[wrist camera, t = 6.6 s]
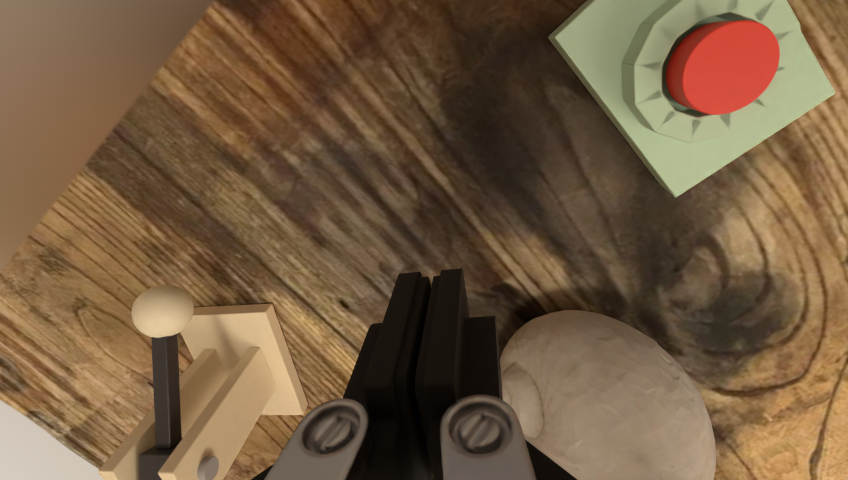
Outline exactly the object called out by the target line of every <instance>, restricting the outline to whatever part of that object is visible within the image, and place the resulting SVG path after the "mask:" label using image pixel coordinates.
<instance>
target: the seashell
mask: <svg viewBox="0 0 848 480" xmlns="http://www.w3.org/2000/svg"><path fill="white" fill-rule="evenodd" d="M500 366H501V380H502V395H503V401H505V402H507V403H508V404H509V405H510V406H511V407H512V408H513V409H514V410H515V412H516V415H517V417H518V419H519V421H520V424H521V428H522V431H523V435H524V438H525V439H526V440H527V441H528V442H529V443H531V444H532V445H533V446H535V447H536V448H537V449H538V450H540V451H541V452H542V453H544V454H545V455H546V456H548V457H549V458H550V459H551V460H553V461H554V462H555V463H557V464H558V465H559V466H561V467H562V468H563V469H564V470H566V471H567V472H568V473H570V474H571V475H572V476H573V477H575V478H576V479H577V480H713V478H714V475H715V467H716V450H715V440H714V435H713V431H712V426H711V421H710V418H709V415H708V413H707V410H706V408H705V405H704V402H703V399H702V397H701V395H700V393H699V392H698V390H697V388H696V387H695V385H694V384H693V382H692V380H691V379H690V377H689V376H688V374H687V373H686V372H685V371H684V370H683V368H682V367H681V366H680V365H679V364H678V363H677V362H676V361H675V360H674V359H673V358H672V357H671V356H670V355H669V354H668V353H667V352H666V351H665V350H663V349H662V348H661V347H660V346H659V345H658V344H657V343H656V342H655V340H653V339H651V338H649V337H648V336H646V335H645V334H643V333H641V332H640V331H638V330H636V329H635V328H633V327H631V326H629V325H628V324H626V323H623V322H621V321H619V320H617V319H614V318H611V317H608V316H606V315H603V314H598V313H593V312H588V311H581V310H564V311H558V312H553V313H549V314H546V315H543V316H540V317H537V318H534V319H532V320H531V321H529V322H527V323H526V324H524V325H523V326H522V327H521V328H520V329H519V330H517V331H516V332H515V333H514V335H513V336H512V337H511V339H510V340H509V342H508V343H507V345H506V346H505V348H504V350H503V352H502V355H501V358H500Z"/></svg>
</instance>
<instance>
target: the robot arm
mask: <svg viewBox="0 0 848 480" xmlns="http://www.w3.org/2000/svg"><path fill="white" fill-rule="evenodd" d="M433 476H434V480H577V479H576V478H575V477H573V476H572V475H571V474H570V473H568V472H567V471H566V470H564V469H563V468H562V467H561V466H559V465H558V464H557V463H555V462H554V461H553V460H551V459H550V458H549V457H548V456H546V455H545V454H544V453H542V452H541V451H540V450H538V449H537V448H536V447H535V446H533V445H532V444H531V443H529V442H528V441H527V440H526V439H525V438H524V435H523V431H522V428H521V424H520V421H519V419H518V417H517V415H516V412H515V410H514V409H513V408H512V407H511V406H510V405H509V404H508V403H507V402H505V401H503V395H502V380H501V366H500V355H499V344H498V335H497V326H496V318H495V316H489V317H473V318H470V316H469V309H468V302H467V295H466V288H465V281H464V274H463V270H462V268H461V269H449V270H441V274H440V276H434V277H433V282H432V288H431V285H430V280H429V277H422V275H421V273H420V272H414V273H402V274H399V275H398V278H397V281H396V284H395V287H394V290H393V293H392V296H391V299H390V302H389V305H388V308H387V311H386V314H385V317H384V320H383V323H376V324H372V325H371V326H370V328H369V330H368V332H367V335H366V338H365V340H364V343H363V346H362V348H361V351H360V354H359V357H358V359H357V362H356V365H355V367H354V370H353V373H352V375H351V378H350V381H349V383H348V386H347V389H346V391H345V394H344V397H343V399H334V400H331V401H327V402H325V403H323V404H321V405H319V406H317V407H315V408H314V409H313V410H312V411H310V412H309V413H308V414H307V415H306V416H305V417H304V418H303V420H302V421H301V422H300V423H299V425H298V427H297V428H296V430H295V431H294V433H293V435H292V436H291V438H290V439H289V441H288V443H287V444H286V446H285V447H284V449H283V451H282V452H281V454H280V455H279V457H278V459H277V460H276V462H275V463H274V464H273V465H272V466H270V467H269V468H267V469H266V470H264V471H263V472H261V473H260V474H259V475H257V476H256V477H254V478H253V479H251V480H433Z"/></svg>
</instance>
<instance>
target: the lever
mask: <svg viewBox="0 0 848 480" xmlns="http://www.w3.org/2000/svg"><path fill="white" fill-rule="evenodd" d="M193 312H194V306H193V302H192V299H191V297H190V296H189V295H188V293H187V292H185V291H184V290H183V289H181V288H179V287H176V286H173V285H158V286H154V287H151V288H149V289H147V290H146V291H144V292H143V293H142V294H140V295H139V296H138V298H137V299H136V300H135V302H134V304H133V307H132V313H131V315H132V320H133V323H134V325H135V326H136V328H137V329H138V330H139V331H140V332H142V333H143V334H145V335H147V336H150V337H152V361H153V386H154V411H155V437H156V445H155V446H153V447H152V448H150V449H148V450H146V451H145V452H143V453H141V454H140V455H139V471H140V480H162V479H161V478H160V476H159V474H158V471H159V470H160V469H161V467H162V466H163V465H164V463H165V462H166V461H167V459H168V458H169V456H170V455H171V454H172V452H173V451H174V450H175V448H176V447H177V446H178V444H179V443H180V441H181V440H182V439H183V438H182V432H181V408H180V385H179V361H178V337H177V333H179V332H181V331H182V330H183V329H184V328H185V327H186V326H187V325H188V324H189V322H190V321H191V319H192V316H193Z"/></svg>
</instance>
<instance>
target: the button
mask: <svg viewBox="0 0 848 480" xmlns="http://www.w3.org/2000/svg"><path fill="white" fill-rule="evenodd" d="M779 59H780V50H779V44H778V41H777V39H776V37H775V35H774V34H773V32H772V31H771V30H770V29H769V28H768V27H766V26H765V25H763V24H761V23H759V22H755V21H751V20H737V21H720V22H713V23H709V24H706V25H704V26H701V27H699V28H698V29H696V30H694V31H693V32H691V33H690V34H688V35H687V36H686V37H685V38H684V39H683V40H682V41H681V42H680V43H679V44H678V46H677V47H676V48H675V50H674V52H673V53H672V55H671V57H670V60H669V62H668V65H667V70H666V84H667V88H668V91H669V93H670V94H671V96H672V97H673V99H674V100H675V101H677V102H678V103H679V104H681V105H683V106H685V107H688V108H691V109H694V110H696V111H699V112H702V113H706V114H712V115H721V114H727V113H731V112H734V111H737V110H739V109H741V108H743V107H745V106H747V105H749V104H750V103H752V102H753V101H754V100H756V99H757V98H758V97H759V96H760V95H761V94H762V93H763V92H764V91H765V90H766V89H767V87H768V86H769V84H770V83H771V81H772V80H773V78H774V76H775V73H776V71H777V68H778V65H779Z"/></svg>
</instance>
